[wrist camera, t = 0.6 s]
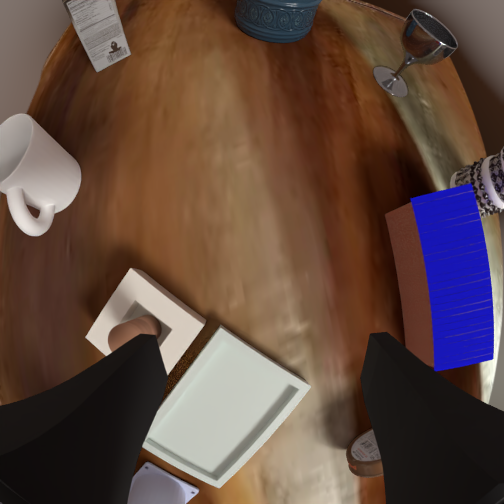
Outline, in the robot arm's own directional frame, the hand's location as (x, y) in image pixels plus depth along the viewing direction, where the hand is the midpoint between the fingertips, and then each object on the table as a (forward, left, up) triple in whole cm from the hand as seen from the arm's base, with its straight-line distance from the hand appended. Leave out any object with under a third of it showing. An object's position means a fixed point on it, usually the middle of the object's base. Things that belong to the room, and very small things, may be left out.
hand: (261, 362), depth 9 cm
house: (+18, -20, -22) cm, 35 cm away
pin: (-7, +6, -21) cm, 23 cm away
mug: (-3, +26, -22) cm, 34 cm away
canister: (+40, +22, -22) cm, 51 cm away
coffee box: (+19, +40, -22) cm, 49 cm away
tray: (-11, -6, -22) cm, 25 cm away
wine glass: (+44, 0, -22) cm, 49 cm away
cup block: (-7, +6, -22) cm, 24 cm away
